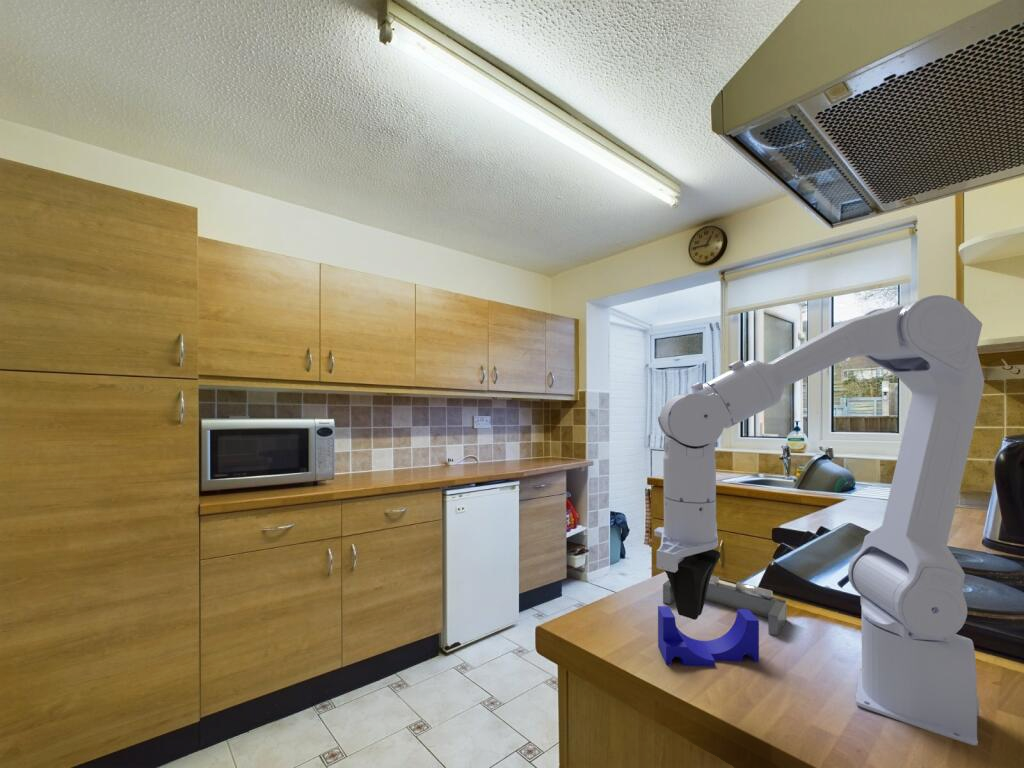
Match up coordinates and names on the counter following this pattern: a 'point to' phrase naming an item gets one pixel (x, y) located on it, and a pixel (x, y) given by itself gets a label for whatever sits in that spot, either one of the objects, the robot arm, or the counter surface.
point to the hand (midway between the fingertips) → (689, 614)
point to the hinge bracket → (742, 601)
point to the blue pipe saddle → (706, 652)
